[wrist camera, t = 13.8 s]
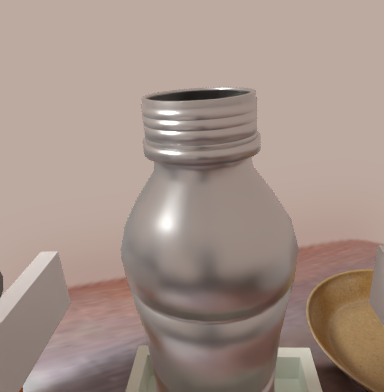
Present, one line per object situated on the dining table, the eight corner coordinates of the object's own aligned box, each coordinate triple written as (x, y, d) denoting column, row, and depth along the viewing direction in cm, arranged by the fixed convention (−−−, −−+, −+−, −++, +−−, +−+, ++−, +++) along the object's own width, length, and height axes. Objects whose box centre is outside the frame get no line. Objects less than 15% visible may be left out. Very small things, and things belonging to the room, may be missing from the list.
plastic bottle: (219, 397, 23) (203, 81, 15) (309, 486, 18) (353, 84, 10) (135, 470, 19) (58, 101, 11) (219, 607, 14) (183, 121, 7)
